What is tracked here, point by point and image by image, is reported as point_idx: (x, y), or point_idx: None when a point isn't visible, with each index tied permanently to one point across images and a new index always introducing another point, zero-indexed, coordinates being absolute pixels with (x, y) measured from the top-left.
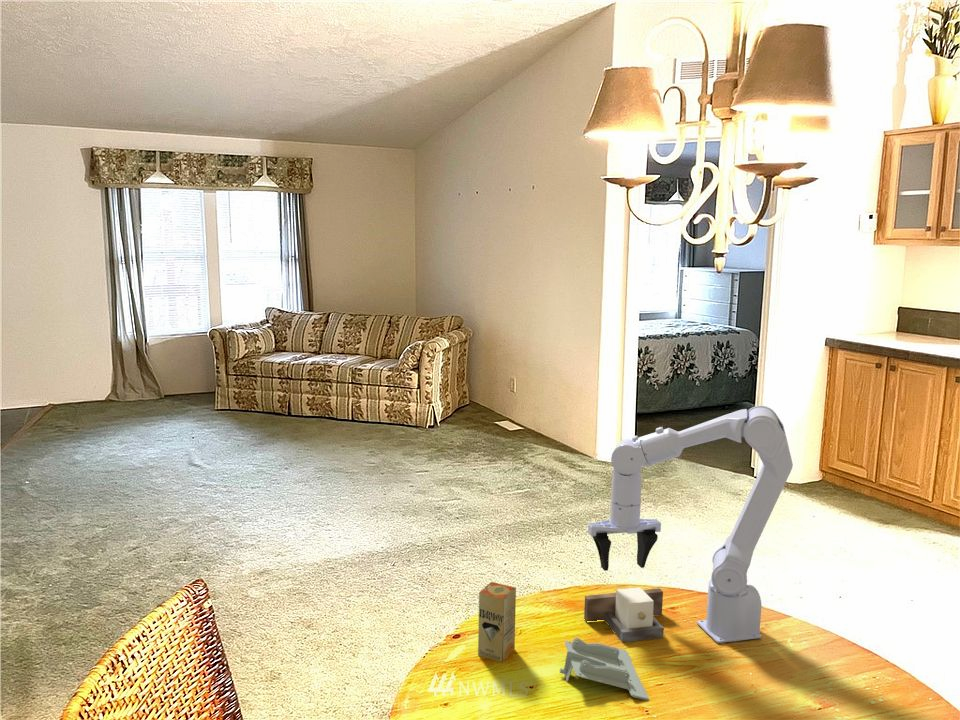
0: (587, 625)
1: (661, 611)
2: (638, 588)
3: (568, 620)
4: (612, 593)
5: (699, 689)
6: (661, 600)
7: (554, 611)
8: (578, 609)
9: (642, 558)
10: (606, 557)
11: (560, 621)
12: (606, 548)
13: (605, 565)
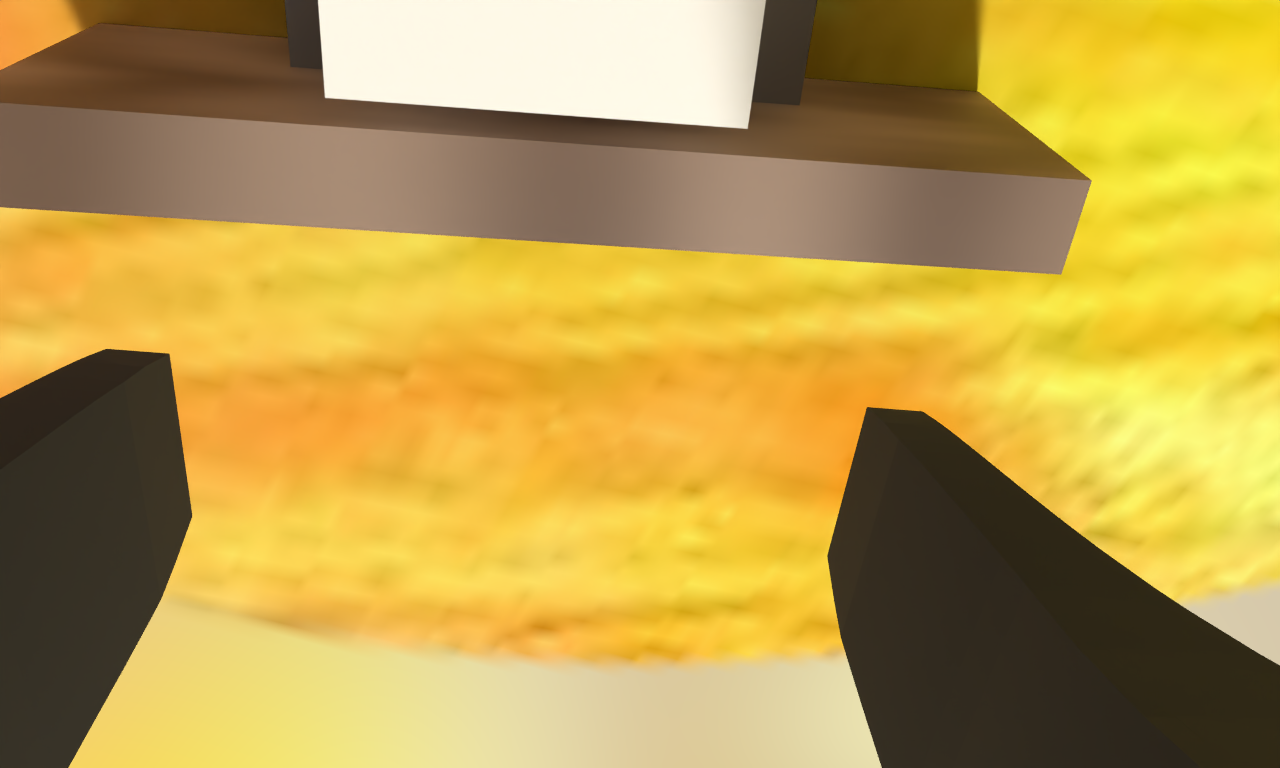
0: (995, 51)
1: (86, 32)
2: (368, 63)
3: (1102, 197)
4: (692, 240)
5: None
6: (27, 65)
7: (1108, 377)
8: (889, 357)
9: (61, 456)
10: (1058, 557)
11: (1182, 201)
12: (1272, 738)
13: (978, 453)
